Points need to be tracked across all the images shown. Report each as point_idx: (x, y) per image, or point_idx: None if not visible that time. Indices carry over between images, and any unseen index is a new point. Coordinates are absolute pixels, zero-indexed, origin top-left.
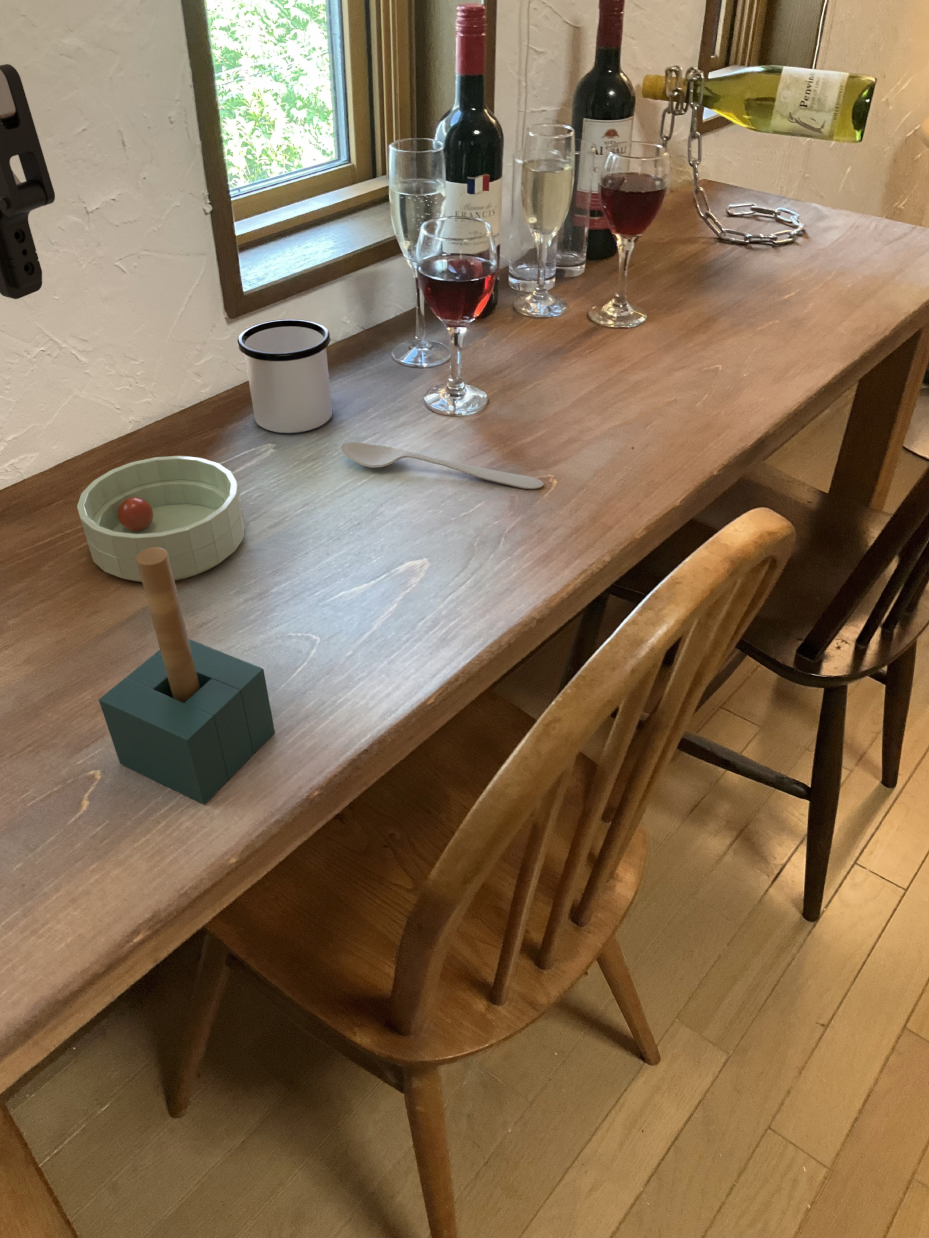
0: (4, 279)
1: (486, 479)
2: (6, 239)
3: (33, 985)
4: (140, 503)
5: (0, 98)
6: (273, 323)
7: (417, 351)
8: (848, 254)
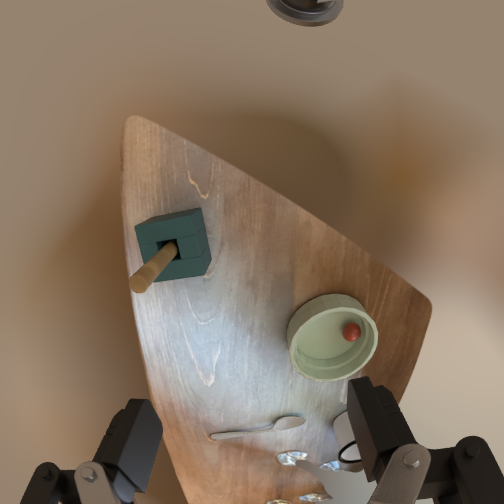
0: (123, 412)
1: (232, 432)
2: (98, 451)
3: (132, 121)
4: (348, 338)
5: None
6: None
7: (335, 467)
8: None
